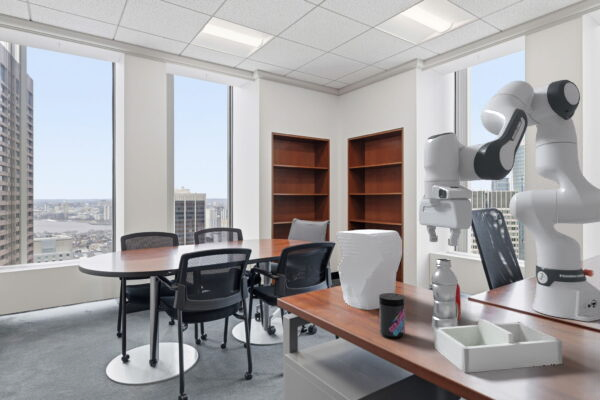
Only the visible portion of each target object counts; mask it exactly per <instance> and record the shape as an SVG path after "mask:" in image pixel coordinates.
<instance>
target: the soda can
mask: <svg viewBox="0 0 600 400" xmlns="http://www.w3.org/2000/svg"><path fill="white" fill-rule="evenodd" d="M461 307H462V305H461V287H460V284H459V283H458V280H457V288H456V296H455V308H456V317H457V321H458V322H459V321H460V320H461V315H462V313H461V311H462V309H461Z"/></svg>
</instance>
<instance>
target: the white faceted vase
mask: <svg viewBox="0 0 600 400" xmlns="http://www.w3.org/2000/svg"><path fill="white" fill-rule="evenodd" d="M334 235H335V237H336V238H337V242H338V244H339V248H340V252H341V254H342V256H343V257H341V260H340V261H339V263H338V264H337V265H338V266H337V267H336V269H337V271H338V275H339V281H340V286H341V290H342V297H343V302H344V301H345V302H344V303H345V304H346V303H347V304H348V305H347V304H346V305H347V306H349V305H350V306H349V307H352V308H356V309H359V310H366V311H371V310H376V309H379V295H380V294H384V293H396V282H397V272H398V270H399V266H400V262H401V261H402V260H401V259H402V256H403V239H402V237H401V235H400V233H399V232H398V231H396V230H392V229H391V230H390V229H389V230H387V229H386V230H385V229H354V230H343V231H335V232H334Z"/></svg>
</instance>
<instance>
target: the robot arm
mask: <svg viewBox="0 0 600 400" xmlns="http://www.w3.org/2000/svg"><path fill="white" fill-rule="evenodd" d="M580 100H581V93H580V91H579V88H578V86H577V85H576V84H575V82H573V81H571V80H569V79H561V80H559V79H558V80H555V81H552V82H551V83H548V84H544V85H541V86H538V87H536V88H533V86H532V85H531V84H530V83H529V82H526V81H524V80H513V81H510V82H508V83H507V84H505V85H504V86H502V87H501V88H500V89H499V90H498V91H497V92H496V93H495V94H494V95H493V96H492V97H491V98H490V99H489V100H488V101H487V103H486V104H485V105H484V107H483V109H482V110H481V114H480V120H481V124H482V126H483V127H484V129H485V130H486V131H488V132H489V133H491V134H493V135H496V136H497V137H496V138H495V139H494V140H491V141H487V142H484V143H480V144H475V145H474V144H473V145H468V146H466V145H464V144H462V143H461V142H460V141H459V140H458V137H457V134H456V133H455V132H450V131H449V132H443V133H439V134H434V135H431V136H429V137H428V138H427V139H426V141H425V143H424V150H423V152H424V153H423V168H424V171H425V177H424V181H423V182H424V188H423V189H424V194H423V197H422V198H421V201H420V203H419V206H418V207H419V209H418V221H419V224H420V225H421V226H426V231H427V233H428V238H429V239H428V240H429V242H430V243H431V242H432V243H438V241H439V237H438V235H437V233H436V229H437V227H439V228H446V229H449V233H450V236H449V238H448V239H447V244H448V246H450V247H457V246H458V245H459V244H458V242H459V241H458V240H459V238H460V236H461V230H469V229H470V228H471V226H472V223H473V206H472V201H471V200H470V199H472V197H473V191H472V190H471V189H469V188H466V187H464V186H463V185H460V183H461V182H472V181H501V180H503V179H505V178H506V177H507V176H508V175H509V174H510V173H511V171H512V170H513V168H514V166H515V162H516V161H515V159H516V155H517V153H518V150H519V147H520V146H521V143H522V141H523V138H524V136H525V134H526V132H527V129H528V127H532V126H536V133H535V134H536V135H535V142H534V143H535V144H534V147H535V149H534V152H535V153H534V154H535V155H534V158H535V159H534V160H535V161H534V162H535V165H534V166H535V171H536V173H537V174H538V175H540V177H542V178H544V179H547V180H550V181H553V182H555V183H557V184H558V185H559V188H548V189H545V188H544V189H528V190H523V191H519V192H516V193H515V194H513V196H512V197H511V198H510V201H509V206H508V207H509V212H510V214H511V215H512V217H513V218H514V219H515V220H516V221H517V222H519V223H520V224H522V225H523V226H524V227H526V229H527V230H528V231H529V232H530V234H531V235H532V238H533V240H534V243H535V250H536V258H537V260H536V265H535V277H536V285H535V293H534V299H533V302H532V303H533V304H532V305H531V306H532V307H531V308H532V310H534V311H536V312H537V313H540V314H544V315H547V316H551V317H557V318H562V319H563V318H564V319H568V320H569V319H571V320H577V321H580V322H593V321H594V322H595V321H599V320H600V289H598V288H597V287H595V286H594V285H593V284H591V283H590V282H589V281H588V280H587V276H588V277H590V278H591V277H593V276H594V270H592V269H587V268H585V269H583V268H582V267H581V265H582V263H581V262H582V257H581V245H580V243H579V242H578V241H577V240H576V239H575V238H573V237H571V236H569V235H567V234H565V233H563V232H562V233H561V232H560V231H558V230H557V229H556V228H555V225H556V224H573V225H578V224H580V225H583V224H585V225H586V224H593V223H600V188H599V187H597V186H595V185H593V184H592V183H591V182H589V181H588V180H587V179H586V177H585V176H584V174H583V173H582V171H581V167H580V163H579V162H580V161H579V153H578V152H579V151H578V148H579V147H578V136H577V130H576V127H575V123H574V120H573V117H574V115H575V112H576V110H577V109H578V106H579V103H580Z"/></svg>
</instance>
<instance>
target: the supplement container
mask: <svg viewBox="0 0 600 400" xmlns="http://www.w3.org/2000/svg"><path fill="white" fill-rule="evenodd" d="M405 299H406V298H405V295H403V294H400V293H396V292H395V293H384V294H380V295H379V308H378V309H379V332H380V335H381V336H382V337H384V338H386V339H389V340H399V339H403V338H404V337H405V335H406V310H405V308H406V305H405V304H406V300H405Z"/></svg>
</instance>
